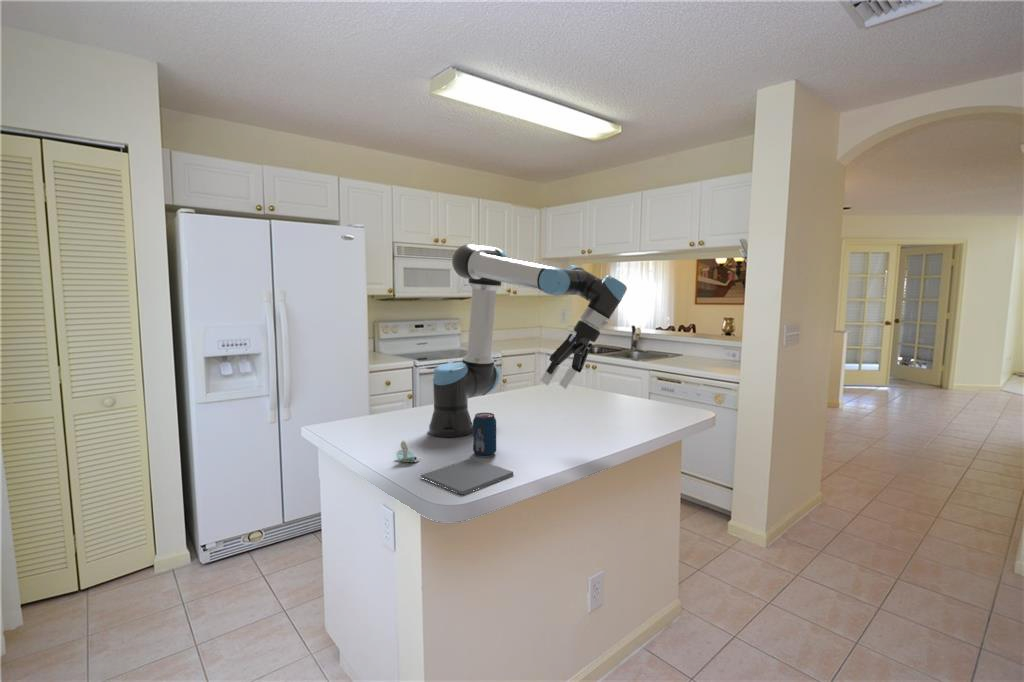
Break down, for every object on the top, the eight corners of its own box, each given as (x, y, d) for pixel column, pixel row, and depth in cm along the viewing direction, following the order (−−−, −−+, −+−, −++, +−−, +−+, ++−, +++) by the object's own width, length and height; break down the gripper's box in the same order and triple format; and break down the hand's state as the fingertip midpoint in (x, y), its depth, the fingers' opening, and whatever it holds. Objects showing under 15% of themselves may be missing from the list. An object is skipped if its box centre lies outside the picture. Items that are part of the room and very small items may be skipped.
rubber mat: (421, 478, 128) (421, 474, 127) (472, 461, 141) (472, 457, 141) (462, 495, 117) (462, 491, 117) (513, 475, 130) (513, 471, 130)
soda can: (494, 449, 151) (494, 411, 150) (497, 457, 144) (497, 417, 143) (472, 451, 150) (471, 412, 149) (474, 458, 143) (474, 418, 142)
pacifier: (414, 456, 146) (394, 458, 143) (414, 435, 146) (394, 437, 143) (423, 463, 140) (402, 466, 137) (423, 442, 139) (402, 444, 136)
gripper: (585, 323, 135) (545, 388, 138) (613, 338, 156) (578, 394, 159) (564, 310, 139) (526, 374, 141) (594, 327, 160) (560, 381, 163)
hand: (553, 384), depth 150 cm, fingers open, 13 cm apart
